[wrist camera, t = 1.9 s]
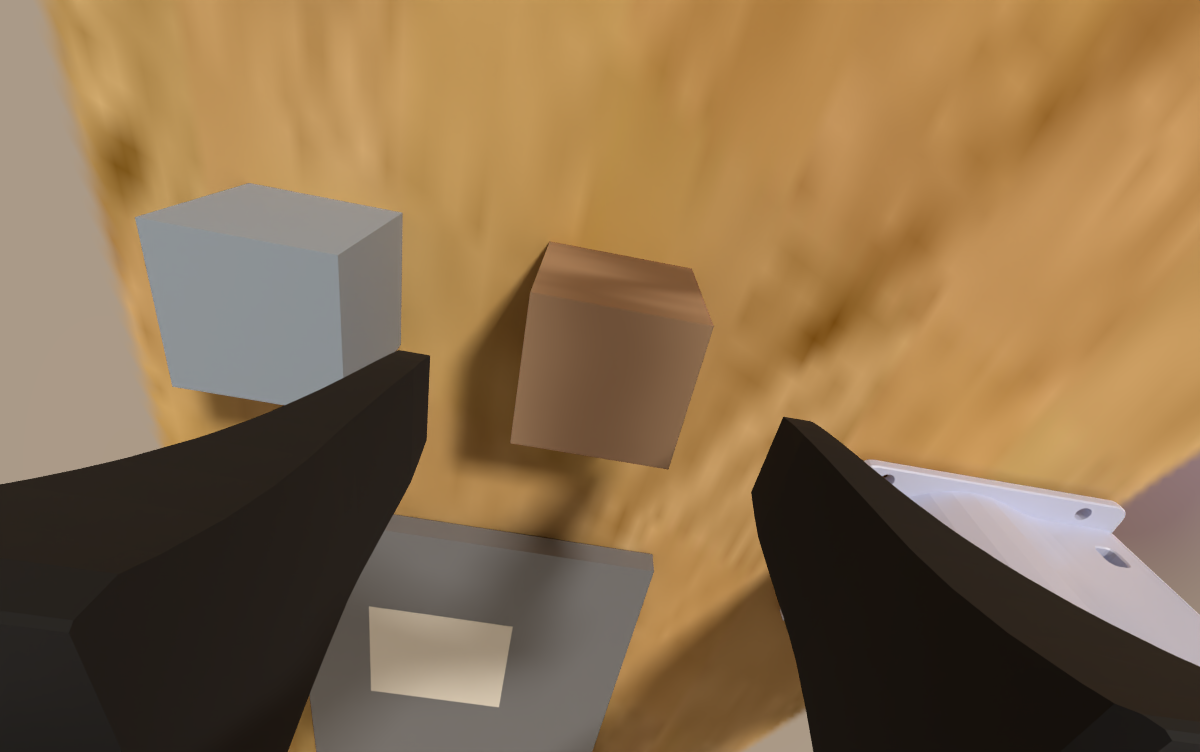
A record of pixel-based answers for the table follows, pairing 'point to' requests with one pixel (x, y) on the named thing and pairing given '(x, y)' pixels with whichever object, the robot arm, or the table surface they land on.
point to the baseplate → (477, 643)
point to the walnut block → (609, 356)
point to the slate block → (272, 290)
